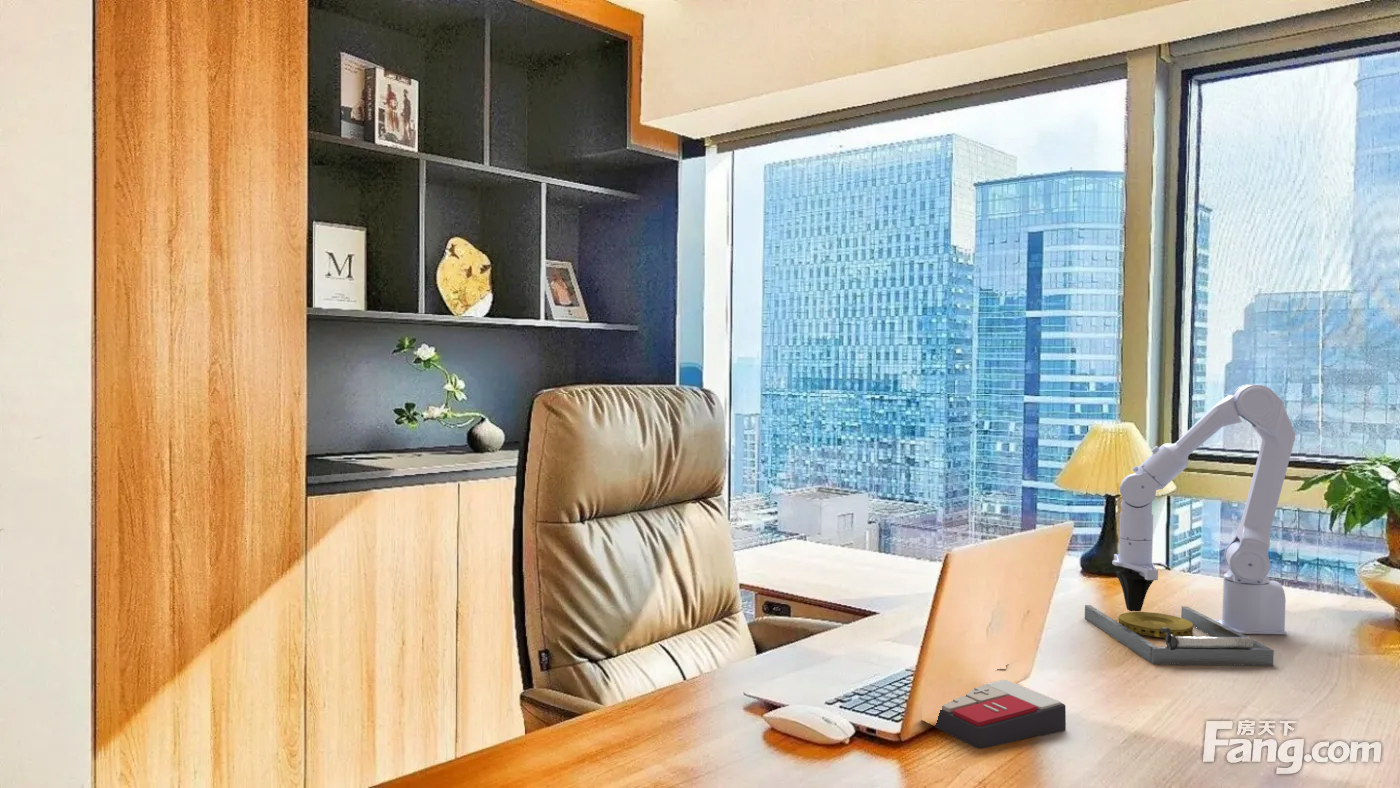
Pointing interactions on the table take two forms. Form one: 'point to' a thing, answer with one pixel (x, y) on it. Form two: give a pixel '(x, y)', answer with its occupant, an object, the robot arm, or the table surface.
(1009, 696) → the calculator
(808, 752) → the table surface
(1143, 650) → the bay
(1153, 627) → the gold round shallow dish
